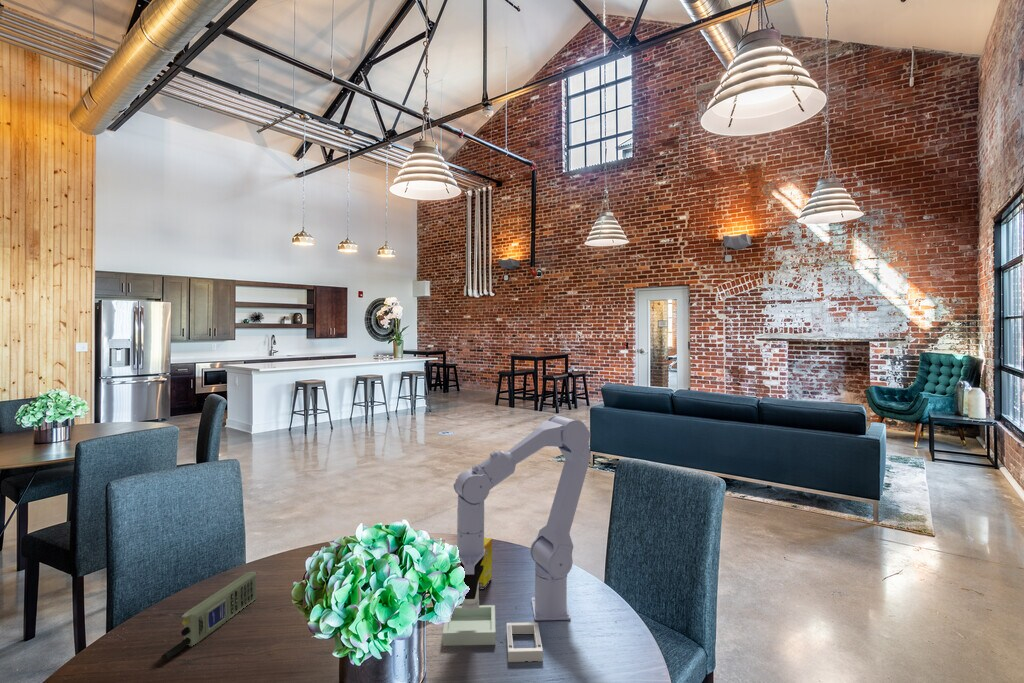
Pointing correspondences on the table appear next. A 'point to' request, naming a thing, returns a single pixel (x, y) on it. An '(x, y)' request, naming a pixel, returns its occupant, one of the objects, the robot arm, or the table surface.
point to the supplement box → (486, 563)
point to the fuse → (472, 601)
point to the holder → (524, 653)
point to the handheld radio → (215, 611)
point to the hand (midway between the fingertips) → (470, 593)
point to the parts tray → (470, 627)
